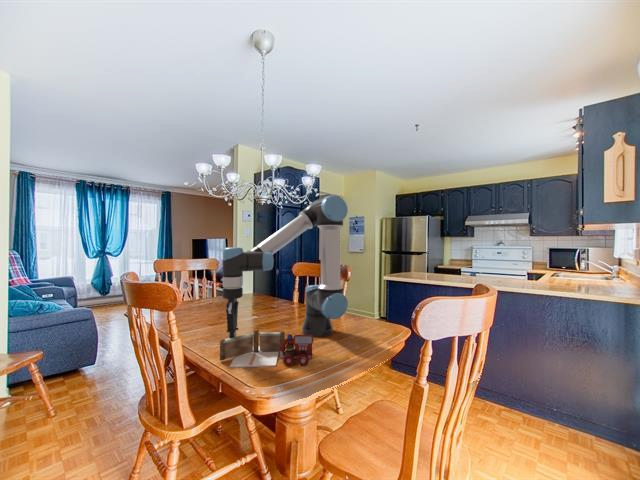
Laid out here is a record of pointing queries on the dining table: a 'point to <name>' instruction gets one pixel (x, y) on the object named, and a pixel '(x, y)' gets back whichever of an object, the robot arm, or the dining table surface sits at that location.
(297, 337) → the toy fire truck
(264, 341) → the fence fixed section
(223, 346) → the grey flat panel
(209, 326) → the dining table surface
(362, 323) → the dining table surface
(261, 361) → the card
